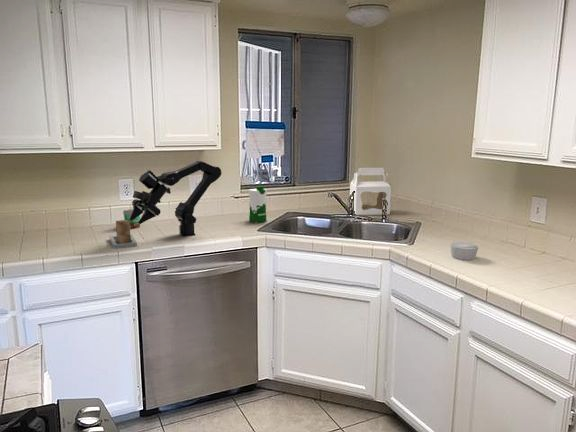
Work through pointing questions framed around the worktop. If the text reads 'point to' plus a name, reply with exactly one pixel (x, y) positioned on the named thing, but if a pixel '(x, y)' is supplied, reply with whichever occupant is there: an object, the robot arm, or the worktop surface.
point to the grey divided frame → (115, 245)
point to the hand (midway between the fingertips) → (134, 221)
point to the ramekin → (463, 250)
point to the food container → (134, 222)
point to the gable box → (371, 186)
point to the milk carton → (257, 204)
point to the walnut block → (123, 231)
